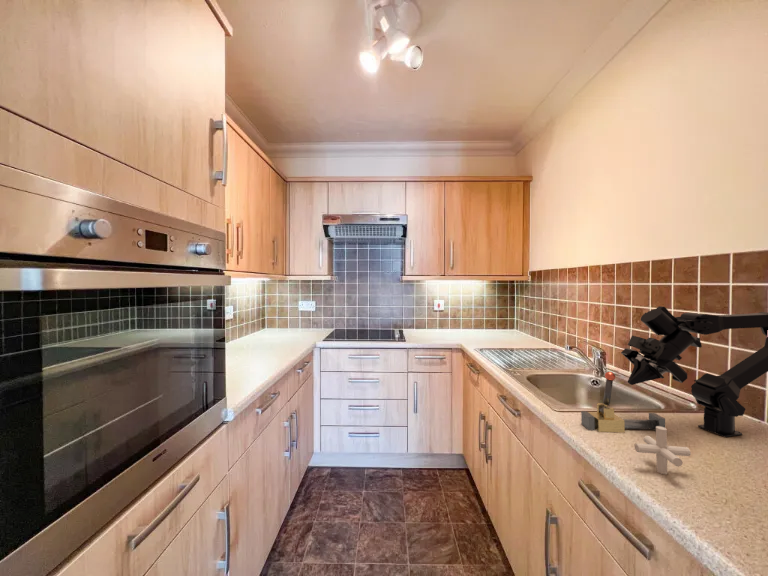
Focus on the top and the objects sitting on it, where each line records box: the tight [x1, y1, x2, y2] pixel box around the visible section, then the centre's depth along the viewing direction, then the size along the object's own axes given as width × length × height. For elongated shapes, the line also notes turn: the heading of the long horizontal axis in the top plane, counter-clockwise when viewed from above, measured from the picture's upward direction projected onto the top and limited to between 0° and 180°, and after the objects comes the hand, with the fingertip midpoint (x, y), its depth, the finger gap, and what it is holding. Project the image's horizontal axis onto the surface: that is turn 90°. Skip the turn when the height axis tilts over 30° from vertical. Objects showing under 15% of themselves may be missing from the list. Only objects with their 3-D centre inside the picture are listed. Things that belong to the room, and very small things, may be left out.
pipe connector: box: [633, 426, 692, 475], centre depth 70 cm, size 10×10×10 cm
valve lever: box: [599, 371, 616, 415], centre depth 92 cm, size 3×3×13 cm
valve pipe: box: [580, 402, 666, 434], centre depth 92 cm, size 21×6×6 cm, turn 84°
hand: (629, 383), depth 91 cm, fingers closed
